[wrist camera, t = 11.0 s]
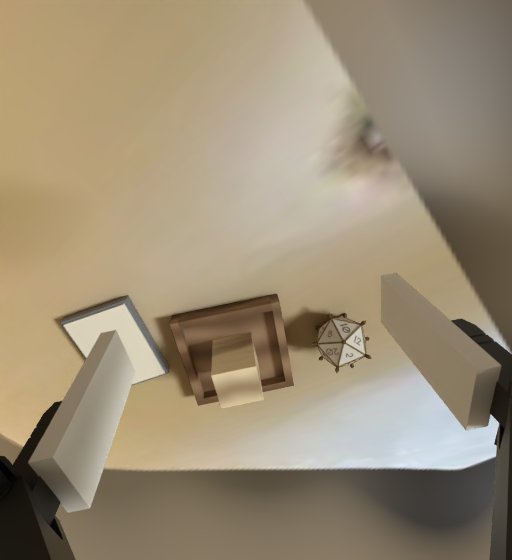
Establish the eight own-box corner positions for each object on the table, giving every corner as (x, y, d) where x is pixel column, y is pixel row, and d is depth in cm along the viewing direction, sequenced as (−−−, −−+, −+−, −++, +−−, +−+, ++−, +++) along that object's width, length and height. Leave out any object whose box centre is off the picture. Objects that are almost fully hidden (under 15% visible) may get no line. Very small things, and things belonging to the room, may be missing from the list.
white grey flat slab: (64, 317, 47) (58, 323, 45) (128, 295, 46) (124, 301, 45) (112, 386, 53) (109, 394, 51) (169, 367, 52) (168, 374, 51)
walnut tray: (172, 315, 48) (169, 324, 46) (276, 293, 48) (279, 301, 46) (199, 394, 55) (198, 405, 53) (290, 375, 55) (293, 385, 53)
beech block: (212, 339, 50) (211, 375, 42) (251, 332, 50) (256, 366, 42) (221, 370, 52) (221, 408, 45) (257, 362, 52) (263, 399, 45)
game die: (322, 324, 56) (312, 380, 51) (311, 296, 50) (298, 356, 45) (377, 328, 52) (373, 389, 47) (372, 298, 46) (366, 364, 41)
